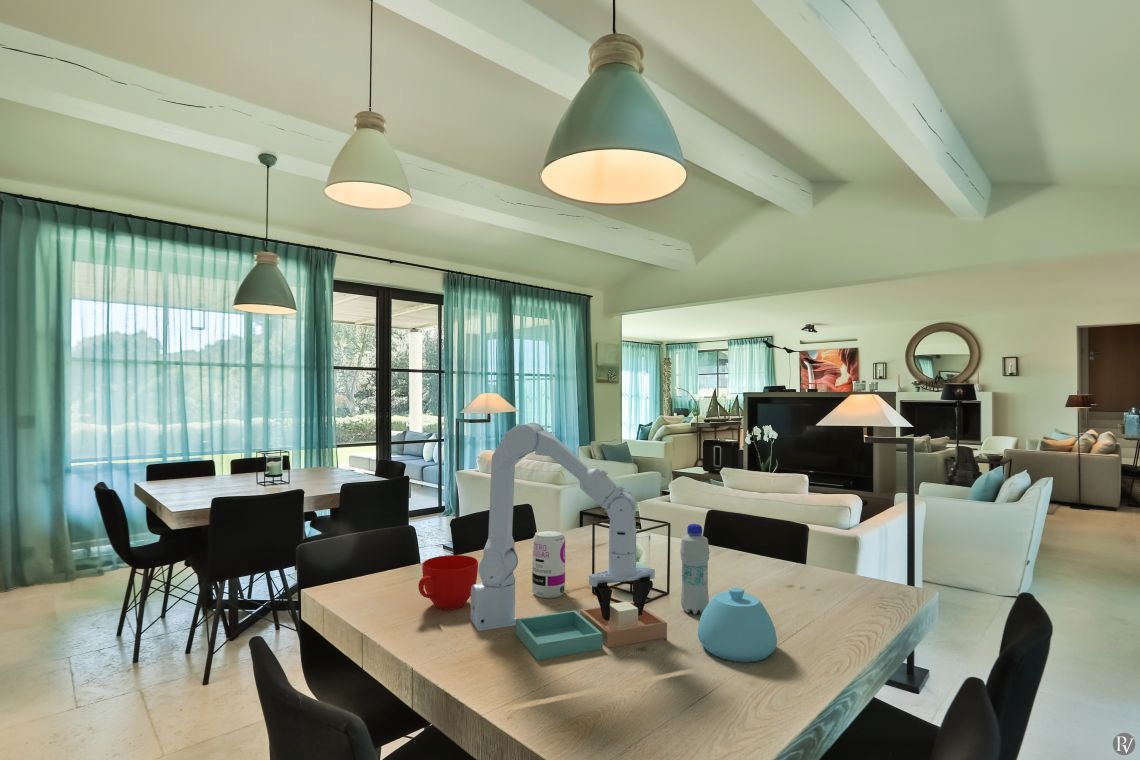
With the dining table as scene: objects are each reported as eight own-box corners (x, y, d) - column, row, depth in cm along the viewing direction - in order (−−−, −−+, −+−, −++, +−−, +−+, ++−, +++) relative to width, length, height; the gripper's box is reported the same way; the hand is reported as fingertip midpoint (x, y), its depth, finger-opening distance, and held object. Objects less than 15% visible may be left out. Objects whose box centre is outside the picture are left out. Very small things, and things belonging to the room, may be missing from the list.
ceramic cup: (397, 614, 134) (398, 569, 134) (446, 592, 149) (446, 552, 149) (442, 624, 128) (443, 577, 128) (488, 600, 143) (488, 559, 143)
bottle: (710, 617, 132) (710, 527, 133) (679, 615, 134) (679, 526, 134) (709, 607, 139) (709, 521, 140) (680, 604, 140) (680, 520, 141)
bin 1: (537, 663, 109) (537, 644, 109) (515, 636, 122) (515, 619, 122) (602, 651, 114) (602, 633, 114) (575, 626, 127) (575, 610, 127)
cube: (618, 636, 120) (618, 611, 120) (608, 628, 124) (608, 604, 125) (638, 632, 122) (638, 608, 122) (627, 625, 126) (627, 601, 126)
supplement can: (566, 588, 152) (566, 530, 152) (563, 599, 144) (563, 537, 144) (535, 587, 153) (535, 529, 153) (529, 598, 144) (530, 536, 145)
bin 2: (607, 650, 115) (607, 632, 115) (580, 626, 127) (580, 609, 127) (666, 640, 120) (666, 622, 120) (634, 617, 132) (634, 601, 132)
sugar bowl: (760, 632, 124) (760, 577, 125) (789, 665, 109) (789, 601, 110) (689, 633, 124) (689, 577, 124) (709, 666, 109) (709, 602, 109)
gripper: (599, 559, 118) (599, 628, 117) (662, 552, 123) (662, 618, 123) (584, 550, 124) (584, 616, 124) (645, 544, 130) (645, 606, 129)
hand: (622, 616), depth 124 cm, fingers open, 7 cm apart
